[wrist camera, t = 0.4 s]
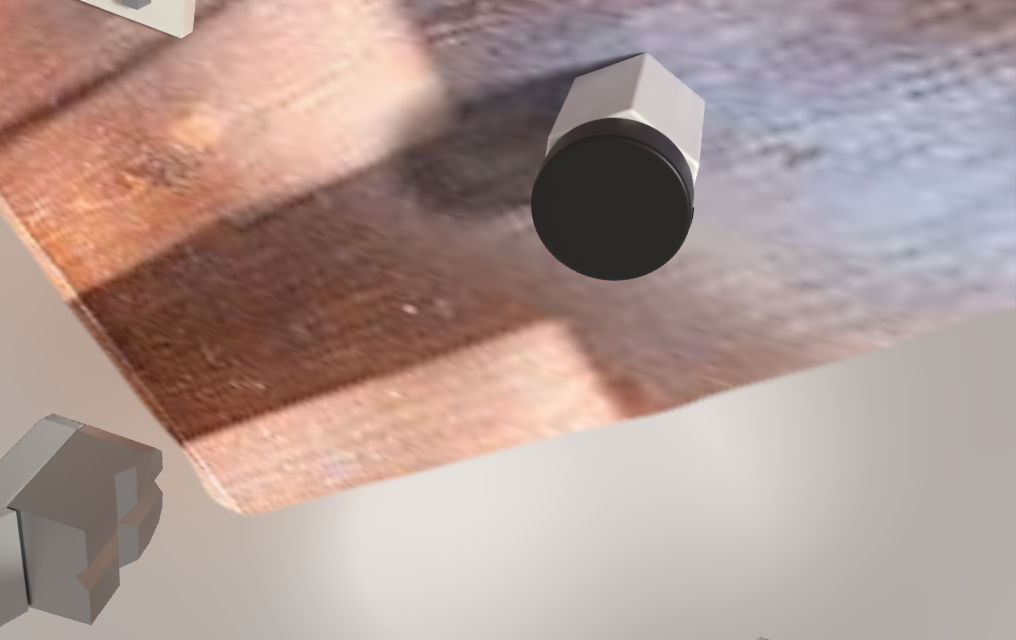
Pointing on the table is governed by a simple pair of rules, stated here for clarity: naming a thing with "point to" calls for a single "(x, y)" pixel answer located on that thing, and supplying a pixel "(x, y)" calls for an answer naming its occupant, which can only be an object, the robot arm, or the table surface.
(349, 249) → the table surface
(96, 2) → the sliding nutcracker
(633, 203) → the jar
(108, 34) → the table surface
